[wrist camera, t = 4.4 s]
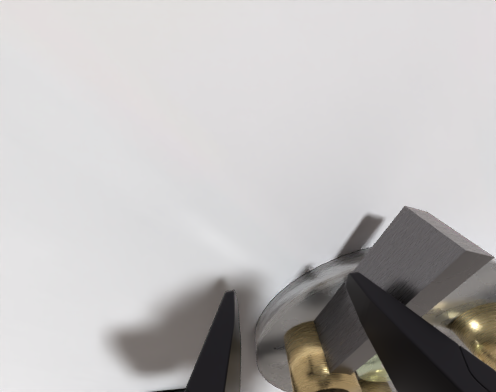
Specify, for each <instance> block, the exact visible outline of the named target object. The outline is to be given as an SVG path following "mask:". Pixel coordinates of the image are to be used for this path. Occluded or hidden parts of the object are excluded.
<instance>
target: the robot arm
mask: <svg viewBox="0 0 496 392" xmlns="http://www.w3.org/2000/svg"><path fill="white" fill-rule="evenodd" d="M346 289H347V291H348V294H349V296H350V299H351V301H352V303H353V306H354V308H355V310H356V313H357V315H358V318H359V320H360V322H361V325H362V327H363V329H364V331H365V333H366V334H367V336H368V338H369V340H370V342H371V344H372V346H373V348H374V349H375V351H376V353H377V355H378V357H379V359H380V361H381V363H382V364H383V366H384V368H385V370H386V372H387V374H388V376H389V377H390V379H391V381H392V383H393V385H394V387H395V389H396V391H397V392H496V370H494V369H493V368H491V367H490V366H488V365H487V364H486V363H484V362H483V361H481V360H480V359H479V358H477V357H476V356H474V355H473V354H472V353H470V352H469V351H467V350H466V349H465V348H463V347H462V346H459V345H458V343H456V342H455V341H453V340H452V339H451V338H449V337H448V336H447V335H445V334H444V333H442V332H441V331H440V330H438V329H437V328H436V327H434V326H433V325H431V324H430V323H429V322H427V321H426V320H424V319H423V318H422V317H420V316H419V315H418V314H416V313H415V312H413V311H412V310H411V309H409V308H408V307H407V306H405V305H404V304H402V303H401V302H400V301H398V300H397V299H396V298H394V297H393V296H391V295H390V294H389V293H387V292H386V291H384V290H383V289H382V288H380V287H379V286H378V285H376V284H375V283H373V282H372V281H371V280H369V279H368V278H367V277H365V276H364V275H362V274H361V273H359V272H350V273H348V276H347V281H346ZM240 372H241V336H240V323H239V310H238V301H237V297H236V292H235V290H230V291H226V292H225V294H224V296H223V299H222V301H221V303H220V306H219V308H218V311H217V313H216V316H215V318H214V321H213V323H212V325H211V328H210V330H209V333H208V335H207V338H206V340H205V342H204V345H203V347H202V350H201V352H200V355H199V357H198V360H197V362H196V364H195V367H194V369H193V372H192V374H191V377H190V379H189V381H188V384H187V386H186V388H187V389H185V391H176V392H240Z"/></svg>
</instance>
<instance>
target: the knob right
mask: <svg viewBox="0 0 496 392" xmlns="http://www.w3.org/2000/svg"><path fill="white" fill-rule="evenodd" d="M450 327H451V330H452V331H453V332H454V333H455V334H456V336H457V337H458V338H459V339H460V340H461V341H462V342H463V344H464V345H465V346H466V347H467V348H468V349H469V350H470V352H471V353H472V354H473V355H474V356H476V357H477V358H479V359H480V360H481V361H483V362H484V363H486V364H487V365H488V366H490V367H491V368H493V369H494V370H496V302H492V303H487V304H482V305H479V306H476V307H473V308H471V309H469V310H467V311H465V312H463V313H462V314H460V315H459V316H457V317H456V318H455V319H454V320H453V322H452V323H451V326H450Z"/></svg>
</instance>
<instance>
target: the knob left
mask: <svg viewBox="0 0 496 392" xmlns="http://www.w3.org/2000/svg"><path fill="white" fill-rule="evenodd" d="M493 258H494V257H493V256H492V255H490V254H489V253H487V252H486V251H484V250H483V249H481V248H480V247H478V246H477V245H476V244H474V243H473V242H471V241H470V240H468V239H467V238H465V237H464V236H462V235H461V234H459V233H458V232H456V231H455V230H453V229H452V228H450V227H449V226H447V225H446V224H444V223H443V222H441V221H440V220H438V219H437V218H435V217H434V216H433V215H431V214H430V213H428V212H425V211H422V210H418V209H415V208H411V207H407V206H404V208H403V209H402V210H401V211H400V213H399V214H398V215H397V216H396V218H395V219H394V220H393V221H392V223H391V224H390V225H389V226H388V228H387V229H386V230H385V231H384V233H383V234H382V235H381V237H380V238H379V239H378V240H377V242H376V243H375V244H374V245H373V247H372V248H371V249H370V250H369V252H368V253H367V254H366V255H365V257H364V258H363V259H362V260H361V262H360V263H359V264H358V266H357V267H356V268H355V269H354V271H353V272H359V273H361V274H362V275H364V276H365V277H367V278H368V279H369V280H371V281H372V282H373V283H375V284H376V285H378V286H379V287H380V288H382V289H383V290H384V291H386V292H387V293H389V294H390V295H391V296H393V297H394V298H396V299H397V300H398V301H400V302H401V303H402V304H404V305H405V306H407V307H408V308H409V309H411V310H412V311H413V312H415V313H416V314H418V315H419V316H420V317H422V316H423V315H425V314H426V313H427V312H428V311H429V310H431V309H432V308H433V307H434V306H436V305H437V304H438V303H439V302H440V301H442V300H443V299H444V298H445V297H447V296H448V295H449V294H450V293H451V292H453V291H454V290H455V289H456V288H458V287H459V286H460V285H461V284H462V283H464V282H465V281H466V280H467V279H469V278H470V277H471V276H472V275H473V274H475V273H476V272H477V271H478V270H480V269H481V268H482V267H483V266H484V265H486V264H487V263H488V262H489V261H491V260H492V259H493ZM346 281H347V279H346ZM346 281H345V282H344V283H343V284H342V286H341V287H340V288H339V289H338V291H337V292H336V293H335V294H334V296H333V297H332V298H331V300H330V301H329V302H328V303H327V305H326V306H325V307H324V308H323V310H322V311H321V312H320V313H319V315H318V316H317V317H316V318H315V320H314V321H309V322H304V323H301V324H298V325H296V326H294V327H292V328H290V329H289V330H288V331H287V332H286V333H285V335H284V344H285V349H286V355H287V360H288V366H289V372H290V377H291V383H292V388H293V392H362V390H361V388H360V385H359V383H358V380H357V378H356V375H355V373H354V372H355V371H356V370H357V369H359V368H360V367H361V366H362V365H364V364H365V363H366V362H367V361H368V360H370V359H371V358H372V357H373V356H375V355H376V354H377V353H376V351H375V349H374V348H373V346H372V344H371V342H370V340H369V338H368V336H367V334H366V333H365V331H364V329H363V327H362V325H361V322H360V320H359V318H358V315H357V313H356V310H355V308H354V306H353V303H352V301H351V299H350V296H349V294H348V291H347V289H346Z"/></svg>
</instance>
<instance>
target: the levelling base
mask: <svg viewBox="0 0 496 392" xmlns="http://www.w3.org/2000/svg"><path fill="white" fill-rule="evenodd" d="M371 248H372V247H371ZM371 248H367V249H363V250H360V251H357V252H354V253H351V254H348V255H345V256H342V257H339V258H337V259H335V260H332V261H330V262H328V263H325V264H323V265H321V266H319V267H317V268H315V269H313V270H312V271H310V272H308V273H306V274H304V275H303V276H301V277H300V278H298V279H297V280H295V281H294V282H292V283H291V284H289V285H288V286H287V287H286V288H285V289H283V290H282V291H281V292H280V293H279V294H278V295H277V296H276V297H275V298H274V299H273V300H272V301H271V302H270V303H269V304H268V305H267V307H266V308H265V310H264V311H263V313H262V314H261V316H260V319H259V321H258V323H257V326H256V331H255V343H256V358H257V366H258V369H259V371H260V373H261V374H262V376H263V377H264V378H265V379H266V380H267V381H268V382H269V383H271V384H272V385H274V386H275V387H277V388H279V389H281V390H283V391H286V392H293V388H292V383H291V377H290V372H289V366H288V360H287V355H286V349H285V344H284V335H285V333H286V332H287V331H288V330H289V329H290V328H292V327H294V326H296V325H298V324H301V323H304V322H309V321H314V320H315V318H316V317H317V316H318V315H319V313H320V312H321V311H322V310H323V308H324V307H325V306H326V305H327V303H328V302H329V301H330V300H331V298H332V297H333V296H334V294H335V293H336V292H337V291H338V289H339V288H340V287H341V286H342V284H343V283H344V282H345V281H346V279H347V276H348V273H350V272H353V271H354V269H355V268H356V267H357V266H358V264H359V263H360V262H361V260H362V259H363V258H364V257H365V255H366V254H367V253H368V252H369V250H370V249H371ZM492 302H496V259H494V258H493V259H492V260H491V261H489V262H488V263H487V264H486V265H484V266H483V267H482V268H481V269H480V270H478V271H477V272H476V273H475V274H473V275H472V276H471V277H470V278H469V279H467V280H466V281H465V282H464V283H462V284H461V285H460V286H459V287H458V288H456V289H455V290H454V291H453V292H451V293H450V294H449V295H448V296H447V297H445V298H444V299H443V300H442V301H440V302H439V303H438V304H437V305H436V306H434V307H433V308H432V309H431V310H429V311H428V312H427V313H426V314H425V315H423V316H422V318H423V319H424V320H426V321H427V322H429V323H430V324H431V325H433V326H434V327H436V328H437V329H438V330H440V331H441V332H442V333H444V334H445V335H447V336H448V337H449V338H451V339H452V340H453V341H455V342H456V343H458V345H459V346H462V347H463V348H465V349H466V350H467V351H469V352H470V350H469V349H468V348H467V347H466V346H465V345H464V344H463V342H462V341H461V340H460V339H459V338H458V337H457V336H456V334H455V333H454V332H453V331H452V330H451V327H450V326H451V323H452V322H453V320H454V319H455V318H456V317H457V316H459V315H460V314H462V313H463V312H465V311H467V310H469V309H471V308H473V307H476V306H479V305H482V304H487V303H492ZM470 353H471V352H470ZM354 373H355V375H356V378H357V380H358V383H359V385H360V388H361V390H362V392H397V391H396V389H395V387H394V385H393V383H392V381H391V379H390V377H389V376H388V374H387V372H386V370H385V368H384V366H383V364H382V363H381V361H380V359H379V357H378V355H377V354H376V355H375V356H373V357H372V358H371V359H370V360H368V361H367V362H366V363H365V364H364V365H362V366H361V367H360V368H359V369H357V370H356V371H355V372H354Z"/></svg>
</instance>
